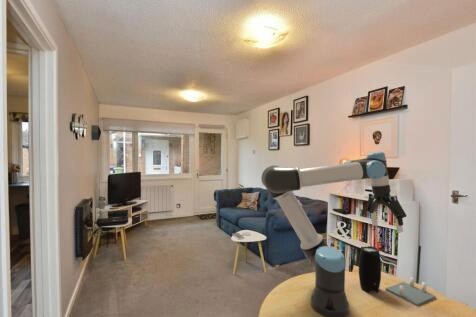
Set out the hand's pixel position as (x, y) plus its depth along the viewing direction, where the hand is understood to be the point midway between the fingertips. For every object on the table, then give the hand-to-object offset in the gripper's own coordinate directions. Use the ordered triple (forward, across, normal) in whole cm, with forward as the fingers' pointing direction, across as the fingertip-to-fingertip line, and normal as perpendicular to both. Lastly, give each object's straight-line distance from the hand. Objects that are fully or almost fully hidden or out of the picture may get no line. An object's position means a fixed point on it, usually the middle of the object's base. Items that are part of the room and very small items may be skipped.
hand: (387, 228), depth 118 cm
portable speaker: (+28, +4, +12) cm, 30 cm away
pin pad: (+30, -5, -3) cm, 31 cm away
